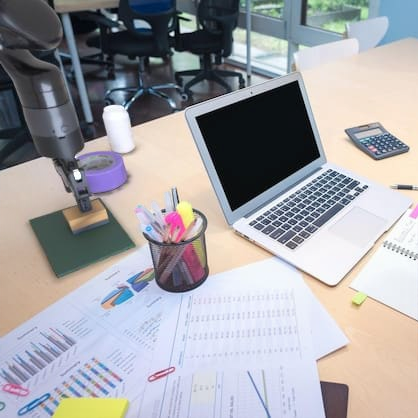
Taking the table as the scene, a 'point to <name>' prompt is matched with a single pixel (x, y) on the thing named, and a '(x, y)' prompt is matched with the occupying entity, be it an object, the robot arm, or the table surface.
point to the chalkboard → (79, 241)
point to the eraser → (86, 217)
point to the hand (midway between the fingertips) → (79, 201)
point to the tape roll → (103, 170)
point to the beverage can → (118, 129)
